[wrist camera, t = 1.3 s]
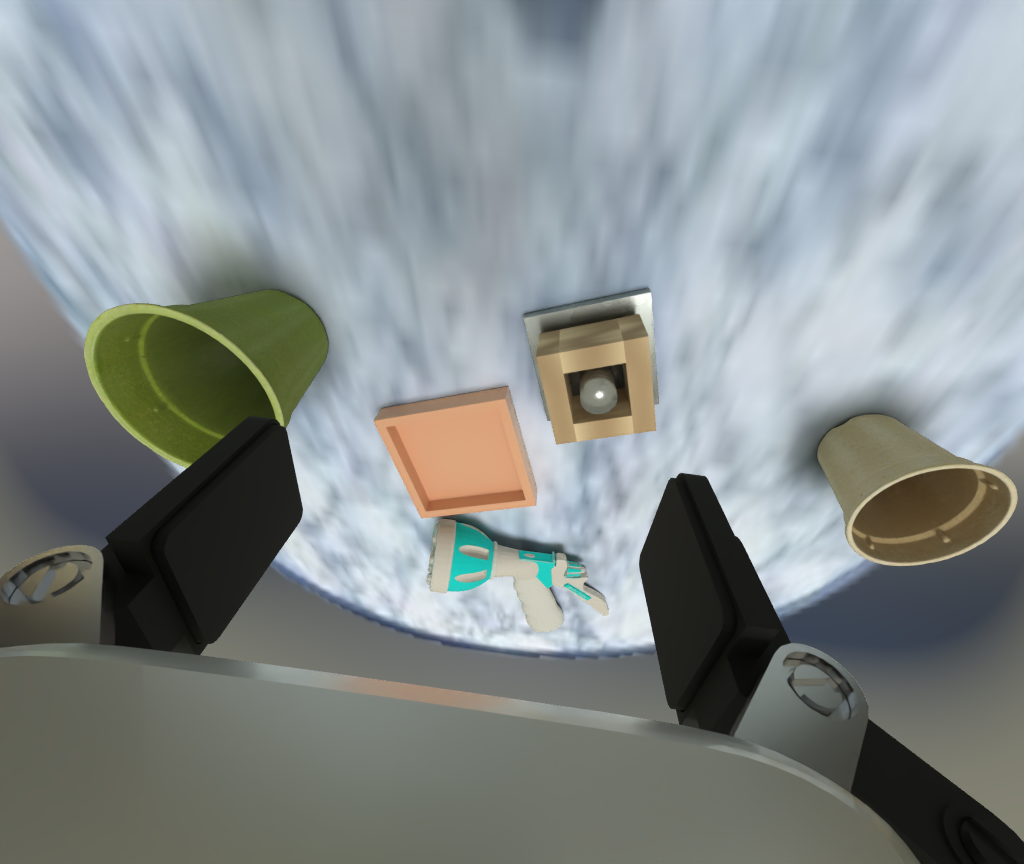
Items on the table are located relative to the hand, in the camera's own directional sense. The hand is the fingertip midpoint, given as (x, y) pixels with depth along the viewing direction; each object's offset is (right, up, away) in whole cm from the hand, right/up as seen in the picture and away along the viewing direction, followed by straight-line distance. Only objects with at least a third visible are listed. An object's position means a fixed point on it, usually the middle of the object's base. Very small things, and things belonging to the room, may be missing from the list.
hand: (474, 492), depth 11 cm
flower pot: (+29, +1, +25) cm, 39 cm away
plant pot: (-18, +10, +25) cm, 32 cm away
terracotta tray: (-4, 0, +30) cm, 30 cm away
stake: (+7, +7, +23) cm, 25 cm away
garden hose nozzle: (+2, -13, +39) cm, 41 cm away
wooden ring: (+7, +6, +22) cm, 24 cm away
